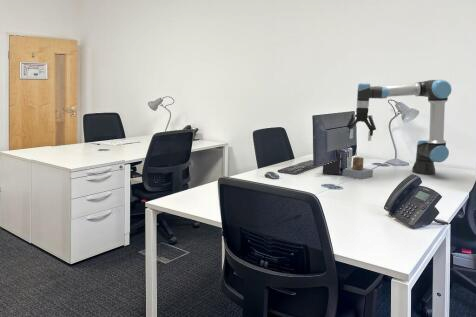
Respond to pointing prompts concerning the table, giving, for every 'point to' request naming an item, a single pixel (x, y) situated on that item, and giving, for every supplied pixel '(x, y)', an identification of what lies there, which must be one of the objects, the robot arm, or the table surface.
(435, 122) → the robot arm
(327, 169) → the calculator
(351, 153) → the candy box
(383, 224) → the table surface
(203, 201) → the table surface
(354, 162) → the walnut block
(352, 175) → the slate base
